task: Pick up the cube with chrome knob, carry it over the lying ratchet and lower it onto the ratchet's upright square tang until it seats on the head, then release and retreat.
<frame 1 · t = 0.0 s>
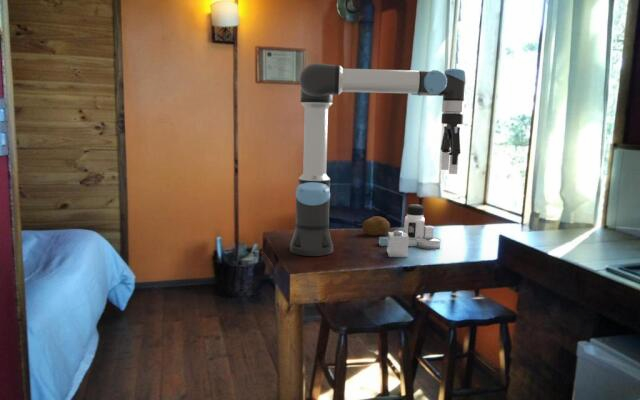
hand: (448, 171, 190), 28 cm above the table, fingers open, 13 cm apart
potato: (375, 235, 209), on the table
cube with chrome knob: (397, 254, 180), on the table
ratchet: (427, 246, 193), on the table
container: (413, 237, 207), on the table
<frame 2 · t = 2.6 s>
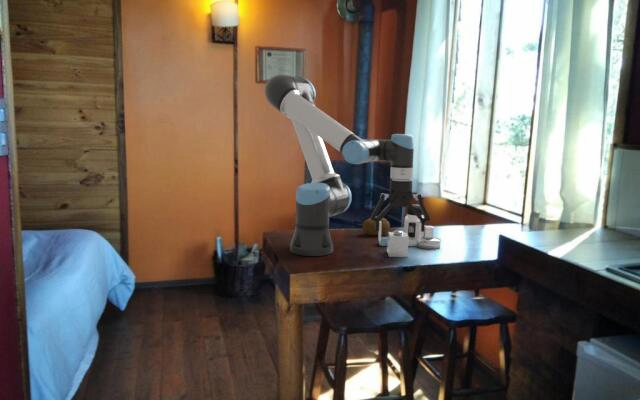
hand: (399, 240, 179), 5 cm above the table, fingers open, 13 cm apart
nothing on the table moved.
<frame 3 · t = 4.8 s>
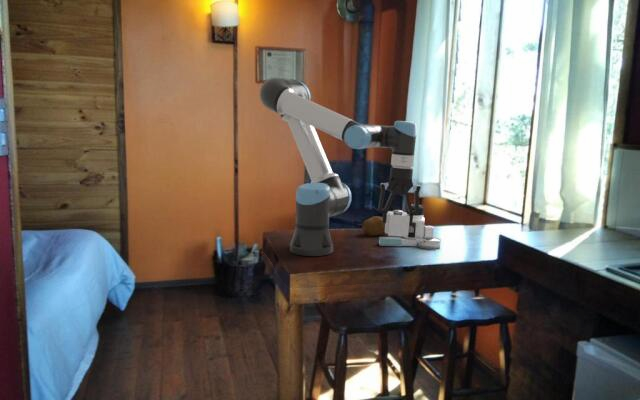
hand: (396, 232, 179), 8 cm above the table, fingers closed on cube with chrome knob, 6 cm apart
cube with chrome knob: (396, 233, 180), point 7 cm above the table, touching gripper
everything else where it was.
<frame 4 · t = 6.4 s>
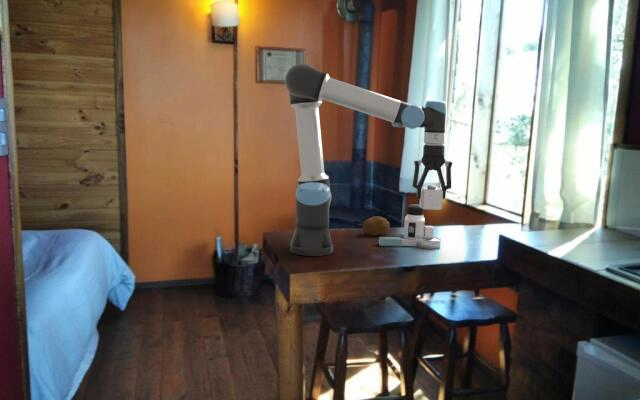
hand: (430, 207, 190), 15 cm above the table, fingers closed on cube with chrome knob, 6 cm apart
cube with chrome knob: (430, 207, 190), point 15 cm above the table, touching gripper
everything else where it was.
when the fingers open (4 cm above the table, at t = 8.1 s): cube with chrome knob stays where it is, resting on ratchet.
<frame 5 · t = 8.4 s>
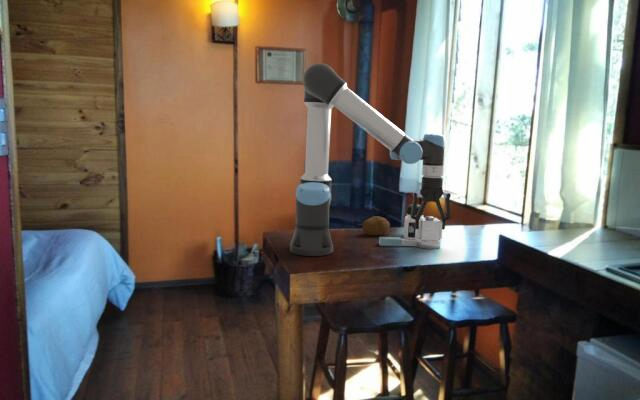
hand: (429, 237, 192), 3 cm above the table, fingers open, 7 cm apart
cube with chrome knob: (428, 238, 192), point 3 cm above the table, touching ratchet
everything else where it was.
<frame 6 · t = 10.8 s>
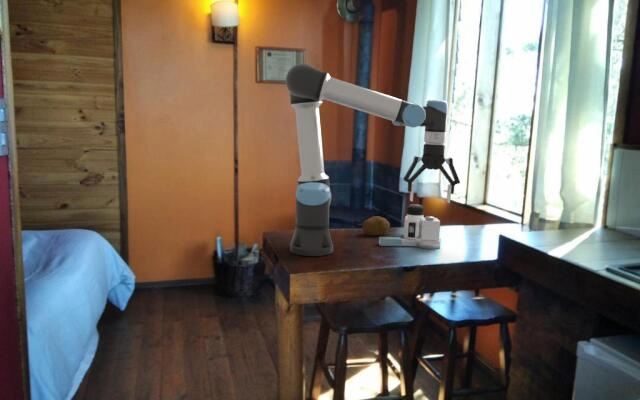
hand: (429, 201, 190), 17 cm above the table, fingers open, 13 cm apart
nothing on the table moved.
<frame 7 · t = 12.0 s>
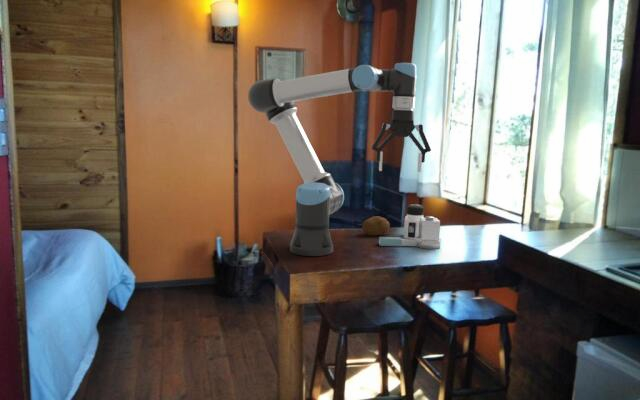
hand: (399, 171, 181), 29 cm above the table, fingers open, 13 cm apart
nothing on the table moved.
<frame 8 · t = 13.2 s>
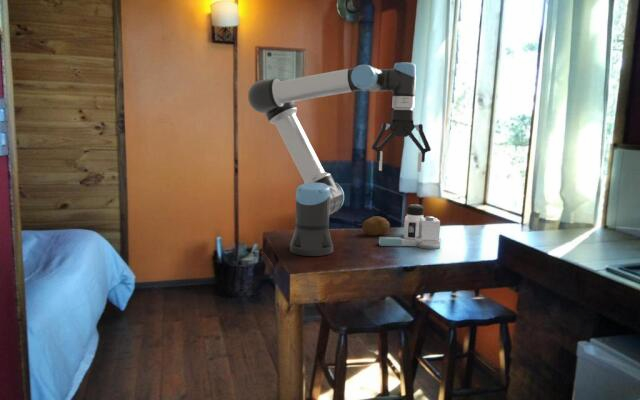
hand: (399, 171, 181), 29 cm above the table, fingers open, 13 cm apart
nothing on the table moved.
at the end: cube with chrome knob 0.1 cm off-centre on the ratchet, point 3.0 cm above the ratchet's base; cube with chrome knob tilted 0°; the gripper is holding nothing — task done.
